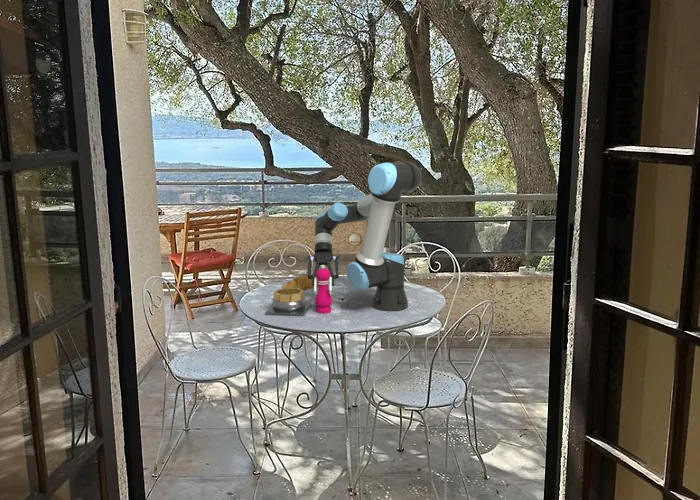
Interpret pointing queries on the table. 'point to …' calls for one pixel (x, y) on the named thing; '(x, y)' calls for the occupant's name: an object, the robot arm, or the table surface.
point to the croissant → (300, 283)
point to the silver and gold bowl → (289, 303)
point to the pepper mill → (323, 291)
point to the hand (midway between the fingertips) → (323, 292)
